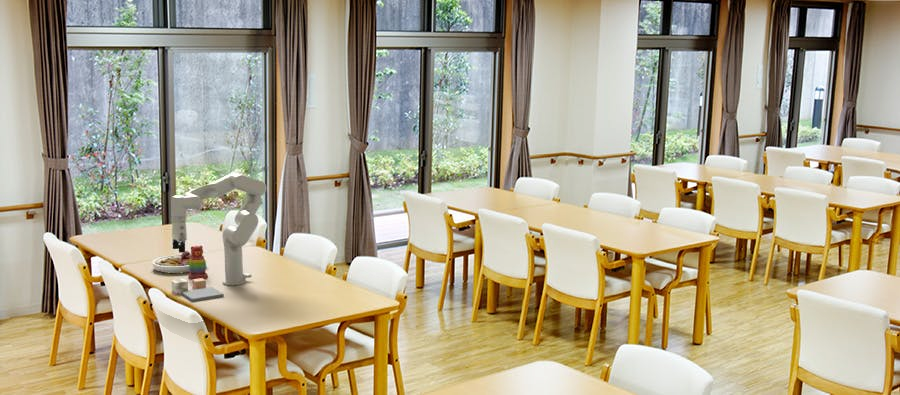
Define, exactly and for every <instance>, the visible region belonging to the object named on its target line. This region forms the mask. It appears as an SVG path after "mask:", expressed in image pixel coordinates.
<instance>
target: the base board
mask: <svg viewBox="0 0 900 395" xmlns="http://www.w3.org/2000/svg"><path fill="white" fill-rule="evenodd" d="M180 295H181V296H183V297H184V298H186V299H187V298H188V299H187V300H188V301H190V302H192V303H193V302H194V303H195V302H198V301H199V302H200V301H206V300H211V299H212V300H213V299H217V298H223V297H224V295H225V294H224V293H223V292H221V291H220V290H218V289H216V288H214V287H213V286H208V287H207V286H206V288H201V289H190V290H189V289H188V291H181V293H180Z"/></svg>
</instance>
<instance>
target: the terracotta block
mask: <svg viewBox="0 0 900 395" xmlns="http://www.w3.org/2000/svg"><path fill="white" fill-rule="evenodd" d="M191 281H192V282H191V283H192V284H191V286H192V290H194V289H201V288H207V283H206V282H207V281H206V279H205V278H196V279H191Z"/></svg>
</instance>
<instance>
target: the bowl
mask: <svg viewBox="0 0 900 395" xmlns="http://www.w3.org/2000/svg"><path fill="white" fill-rule="evenodd" d="M191 257H192V254H191V252H189V251H188V250H185V252H182V253H180V254H175V255H174V254H173V255H166V256H163V257H157V258H155V259H154V260H153V261H152V267H153V268H154V270H156V272H159V271H161V272H160V273H162V272H169V273H168V274H170V273H177V274H182V273H181V272H188V273H191V272H190V269H189V263H190V258H191ZM205 261H206V262H207V259H206V258H205Z"/></svg>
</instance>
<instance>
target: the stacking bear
mask: <svg viewBox="0 0 900 395" xmlns="http://www.w3.org/2000/svg"><path fill="white" fill-rule="evenodd" d="M190 254H192V257H191V258H190V263H189V269H190V272H189V274H188V276H187V277H188V279H189V278H196V279H199V278H203V279H207V278H206V277H208V278H209V276H208V275H209V274H208V273H207V272H206V271H207V263H206V262H207V260H206V261H205V259H206V257H205V256H204V255H203V254H204V250H203V246H202V245H195V246H191V247H190Z"/></svg>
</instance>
